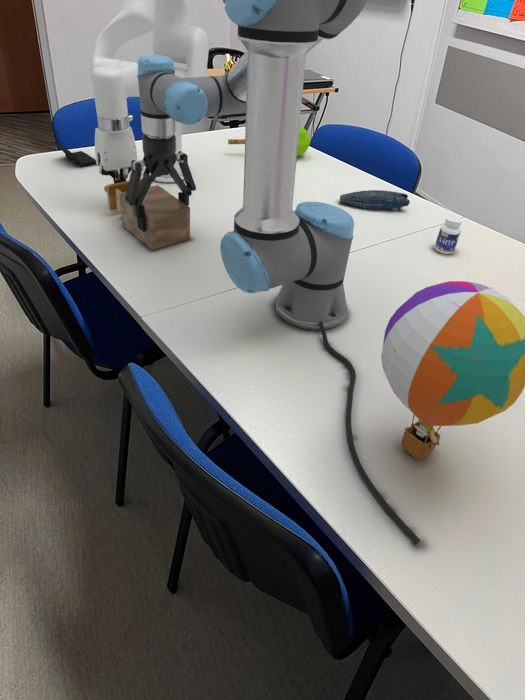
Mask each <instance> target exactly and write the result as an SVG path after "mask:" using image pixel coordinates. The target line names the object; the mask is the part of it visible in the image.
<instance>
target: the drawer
mask: <svg viewBox="0 0 525 700" xmlns="http://www.w3.org/2000/svg"><path fill="white" fill-rule="evenodd" d="M141 180H142V178H141V179H140V182H141ZM128 183H129V180H126V181H124V182H119V183H114V182H113V183H108V184H105V186H103V188H104V192H105V193H106V194H107V195H106V196H107V204H108V205H107V206H108V210H110V211H114V210H116V211H117V212H118V213H119V214H121V209H120V197H119V193H123V192H127V187H128ZM139 184H140V183H139Z"/></svg>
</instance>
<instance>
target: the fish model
mask: <svg viewBox="0 0 525 700" xmlns="http://www.w3.org/2000/svg"><path fill="white" fill-rule="evenodd" d="M410 202H411V201H410V200H409V195H408V194H406V193H403V192H402V193H401V192H399V191H392V190H382V189H380V190H379V189H377V190H376V189H368V190H360V191H352V192H348V193H344V194H341V195H340V196H339V203H343V204H346V205H349V206H351V207H357V208H362V209H371V210H372V209H374V210H384V211H385V210H386V211H391V210H394V209H397V210H402V208H404V207H408V206H409V205H410Z"/></svg>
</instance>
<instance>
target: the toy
mask: <svg viewBox="0 0 525 700" xmlns="http://www.w3.org/2000/svg"><path fill="white" fill-rule="evenodd" d="M380 357H381V358H380V359H381V367H382V370H383V372H384V375H385V377H386V379H387V381H388V384H389V386H390V388H391V390H392V393H393V394H394V395H395V397H396V398H397V399H398V400H399V401H400V402H401V403H402V405H403V406H404V407H405V408H407V410H408V411H409V412H410V413H412V414H413V415H412V422H411V424H410V427H409V426H407V427H405V428H404V432H403V435H402V437H401V442H400V445H401V446H400V447H401V448H402V450H404V451H406V453H408V454H409V455H410V456H412V457H413V458H414V459H416V460H417V461H421V460H423V459H425V458H426V457H427V456H428V455H429V454H430V453H432V452H433V451H434V450H435V448H436V447H437V446H439V445H440V442H439V441H440V439H441V434H439V431H440V429H441V428H442V427H456V426H467V425H476V424H479V423H482V422H484V421H486V420H488V419H490V418H492V417H495V416H497V415H498V414H501V413H503V412H505V411H507V410H508V409H509V408H510V407H511V406H513V405H514V404H515V403H516V402H517V400H518V399H519V397H520V396H521V394H522V393H523V391H524V390H525V315H524V314H523V313H522V312H521V310H519V308H518V307H517V306H516V305H515V303H514V302H513V301H511V299H510V298H509V297H507V296H506V295H504V294H503V293H501V292H499V291H498V290H496V289H494V288H493V287H489V286H487V285H484V284H481V283H476V282H472V281H465V280H454V281H453V280H449V281H445V282H441V283H437V284H433V285H429V286H426V287H423V288H422V289H419V290H418V291H416V292H415V293H414V294H412V295H411V296H410V297H409V298H408V299H407V300H405V302H404V303H403V304H401V305H400V306H399V307H398V308H397V309H396V310H395V312H394V313H393V314H392V316H391V317H390V318H389V320H388V322H387V325H386V328H385V330H384V335H383V343H382V349H381V355H380ZM415 417H416V418H417V419H418V421H416V422H415V423H414V420H415ZM434 427H438V429H436V431H435V428H434Z"/></svg>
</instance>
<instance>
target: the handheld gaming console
mask: <svg viewBox="0 0 525 700" xmlns="http://www.w3.org/2000/svg"><path fill="white" fill-rule="evenodd" d="M53 143H54V144H55V145H56V146H57V148H59V149H60V150H61V151H62V152H63V153H64V154H65V158H67V159H68V160H71V161H72V162H74V163H75V164H77V165H78V166H79V167H85V166H90V165H95V164H96V165H97V163H96V158H94V157H92V156H91V155H89V154H88V153H86V152H85V151H83V150H80V151H73V152H72V151H70V150H69V149H67V148H66V147H64V146H63V145H61V144H59V142H56V141H55V140H54V141H53Z"/></svg>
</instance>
